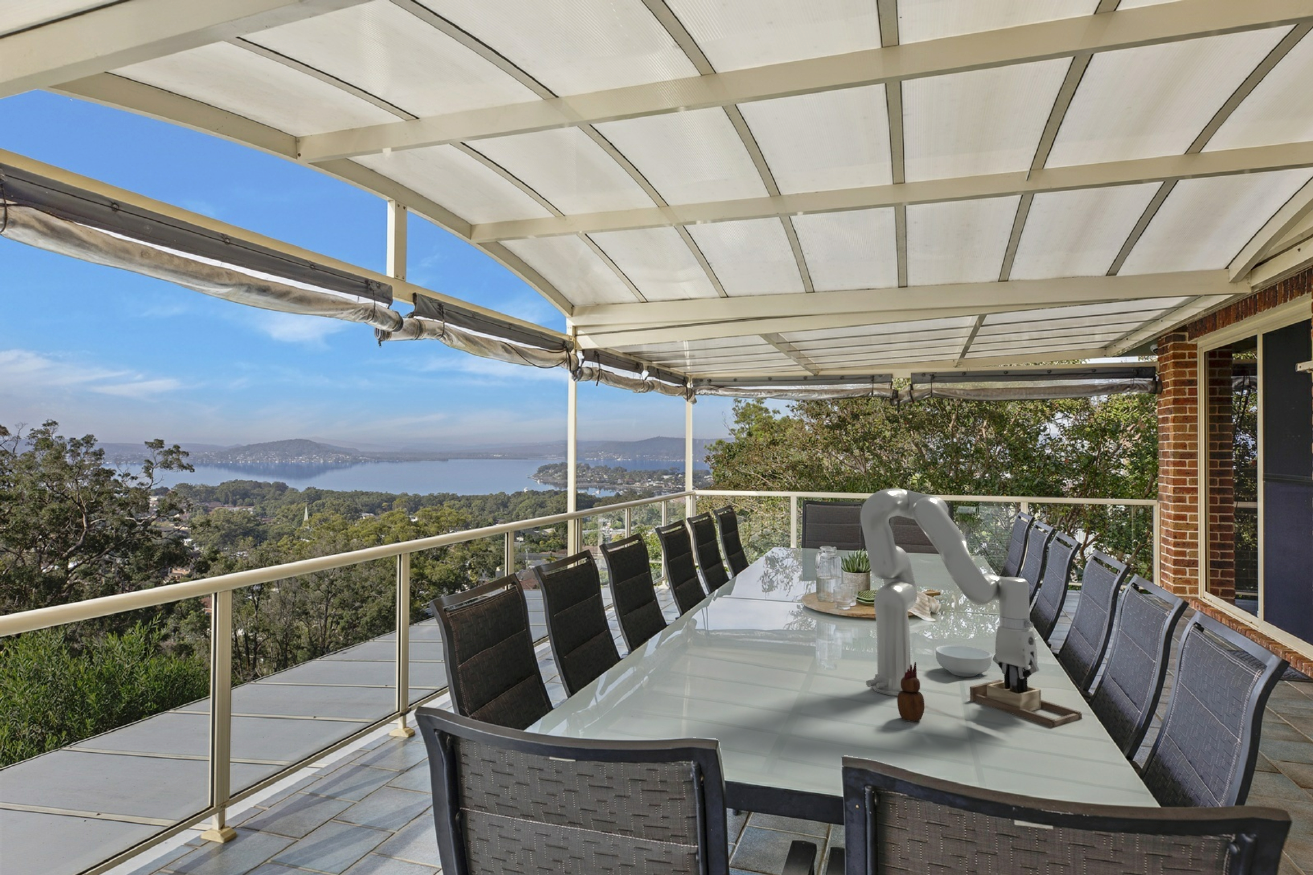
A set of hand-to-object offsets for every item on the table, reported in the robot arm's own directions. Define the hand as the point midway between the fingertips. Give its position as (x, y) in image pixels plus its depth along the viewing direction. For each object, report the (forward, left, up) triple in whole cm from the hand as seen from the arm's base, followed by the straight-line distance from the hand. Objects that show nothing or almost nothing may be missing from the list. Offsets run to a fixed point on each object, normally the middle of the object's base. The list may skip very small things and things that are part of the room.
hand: (1015, 689), depth 202 cm
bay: (0, -2, -6) cm, 6 cm away
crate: (0, +1, -5) cm, 5 cm away
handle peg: (0, 0, -3) cm, 3 cm away
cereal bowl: (+17, +31, -6) cm, 36 cm away
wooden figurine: (-30, +10, -6) cm, 32 cm away
